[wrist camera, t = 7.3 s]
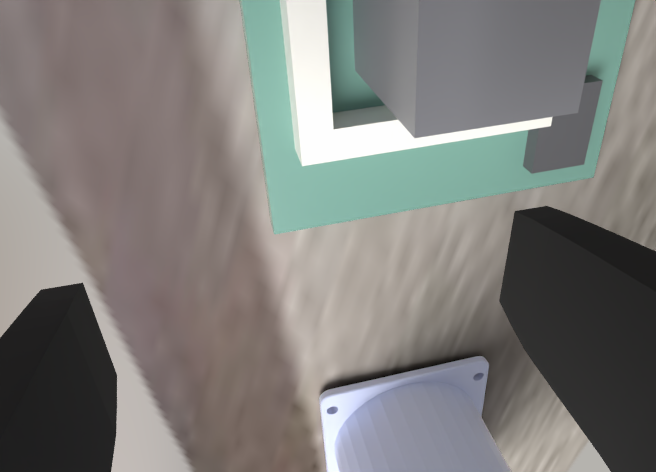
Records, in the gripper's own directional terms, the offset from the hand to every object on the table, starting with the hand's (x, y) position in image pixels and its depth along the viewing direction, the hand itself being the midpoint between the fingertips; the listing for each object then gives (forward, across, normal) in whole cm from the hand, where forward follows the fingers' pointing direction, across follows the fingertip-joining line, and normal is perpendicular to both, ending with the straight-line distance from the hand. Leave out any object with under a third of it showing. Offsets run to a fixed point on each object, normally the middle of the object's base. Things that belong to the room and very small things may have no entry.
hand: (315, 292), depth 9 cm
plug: (+8, -5, -3) cm, 10 cm away
